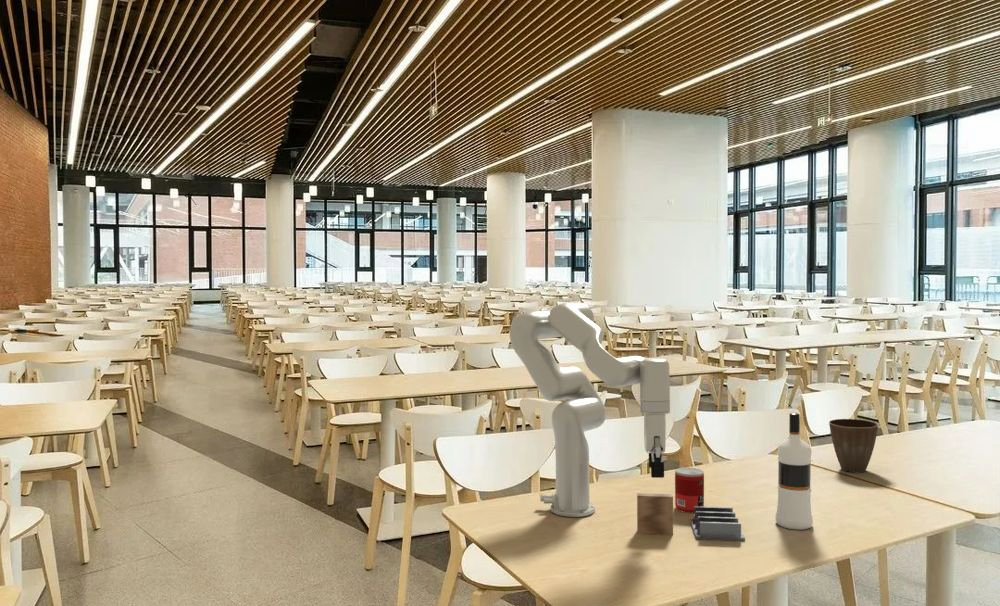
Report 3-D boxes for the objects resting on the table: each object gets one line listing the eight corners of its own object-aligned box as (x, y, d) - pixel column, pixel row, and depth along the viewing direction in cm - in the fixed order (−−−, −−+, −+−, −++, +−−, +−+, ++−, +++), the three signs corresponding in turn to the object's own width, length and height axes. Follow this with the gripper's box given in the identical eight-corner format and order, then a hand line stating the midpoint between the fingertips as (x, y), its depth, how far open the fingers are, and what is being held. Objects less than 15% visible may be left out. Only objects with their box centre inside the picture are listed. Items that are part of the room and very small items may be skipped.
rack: (696, 539, 192) (696, 522, 192) (690, 521, 205) (690, 506, 205) (745, 541, 190) (745, 524, 190) (736, 523, 203) (736, 507, 203)
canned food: (704, 514, 212) (704, 475, 211) (675, 512, 213) (675, 473, 213) (703, 505, 219) (703, 468, 219) (674, 504, 221) (674, 466, 220)
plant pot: (847, 477, 247) (848, 428, 246) (819, 465, 261) (819, 419, 261) (887, 474, 250) (888, 426, 249) (857, 463, 264) (858, 417, 264)
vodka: (767, 522, 204) (768, 411, 203) (793, 517, 208) (793, 408, 207) (795, 533, 196) (795, 417, 194) (820, 527, 200) (821, 414, 198)
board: (637, 533, 196) (637, 495, 196) (637, 530, 199) (637, 493, 198) (673, 535, 195) (673, 496, 195) (672, 532, 197) (672, 494, 197)
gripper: (638, 401, 204) (640, 464, 205) (642, 412, 187) (643, 481, 188) (667, 401, 203) (668, 464, 204) (673, 412, 186) (674, 481, 187)
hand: (656, 472), depth 196 cm, fingers open, 9 cm apart
